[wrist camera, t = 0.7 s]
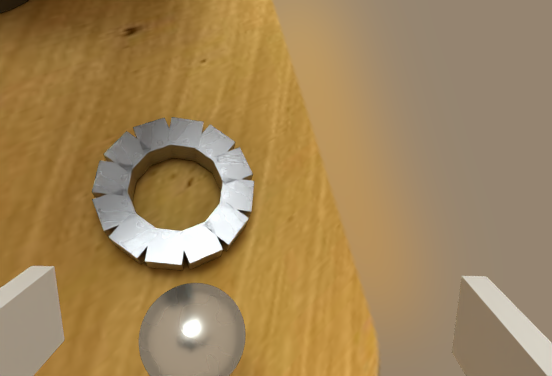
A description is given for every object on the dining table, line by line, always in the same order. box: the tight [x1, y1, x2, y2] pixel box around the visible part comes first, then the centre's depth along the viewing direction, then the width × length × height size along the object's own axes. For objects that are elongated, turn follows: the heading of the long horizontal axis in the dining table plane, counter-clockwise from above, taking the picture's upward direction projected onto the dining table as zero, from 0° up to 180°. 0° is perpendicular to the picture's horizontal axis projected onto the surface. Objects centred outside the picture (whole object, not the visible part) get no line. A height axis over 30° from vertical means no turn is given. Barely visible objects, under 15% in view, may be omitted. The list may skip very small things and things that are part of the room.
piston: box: [139, 283, 245, 376], centre depth 25 cm, size 5×5×12 cm
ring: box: [92, 117, 254, 271], centre depth 33 cm, size 12×12×2 cm
